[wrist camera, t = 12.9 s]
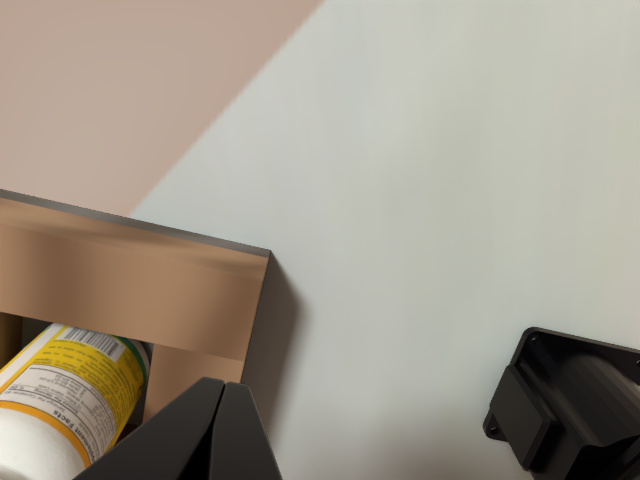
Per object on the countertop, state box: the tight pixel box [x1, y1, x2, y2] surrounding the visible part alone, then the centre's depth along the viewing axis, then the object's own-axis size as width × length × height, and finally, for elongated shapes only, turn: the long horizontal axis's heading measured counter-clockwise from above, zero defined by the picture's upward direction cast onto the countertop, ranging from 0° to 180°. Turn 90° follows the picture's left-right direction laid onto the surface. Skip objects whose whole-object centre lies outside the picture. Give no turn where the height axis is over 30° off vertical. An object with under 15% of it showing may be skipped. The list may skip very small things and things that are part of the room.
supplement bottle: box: [0, 323, 150, 480], centre depth 17 cm, size 5×5×10 cm
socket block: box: [0, 189, 271, 447], centre depth 21 cm, size 14×14×4 cm
